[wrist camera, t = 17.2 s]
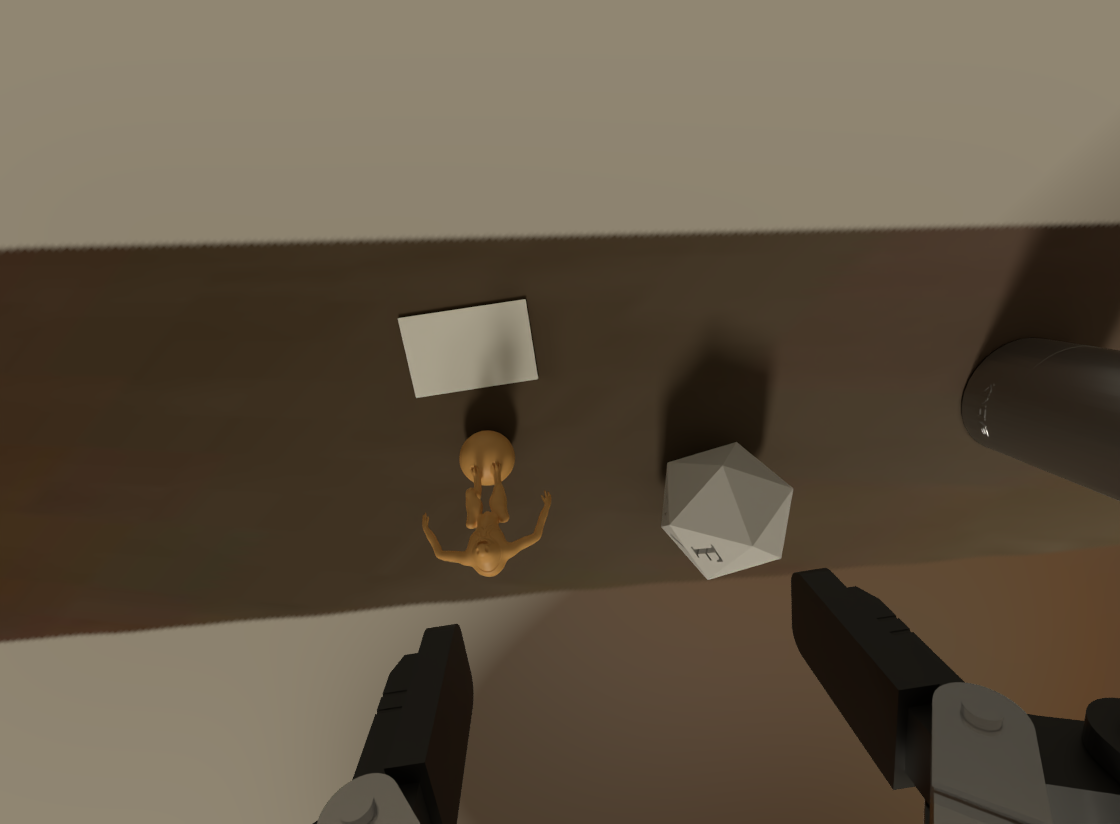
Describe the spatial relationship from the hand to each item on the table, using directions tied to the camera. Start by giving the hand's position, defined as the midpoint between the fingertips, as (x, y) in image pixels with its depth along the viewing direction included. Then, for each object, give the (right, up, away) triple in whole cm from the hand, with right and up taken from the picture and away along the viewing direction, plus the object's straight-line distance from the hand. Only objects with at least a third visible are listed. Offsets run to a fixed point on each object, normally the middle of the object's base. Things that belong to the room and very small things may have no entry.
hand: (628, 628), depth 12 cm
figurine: (-7, +1, +28) cm, 28 cm away
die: (+10, 0, +29) cm, 31 cm away
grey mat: (-8, +10, +25) cm, 28 cm away
